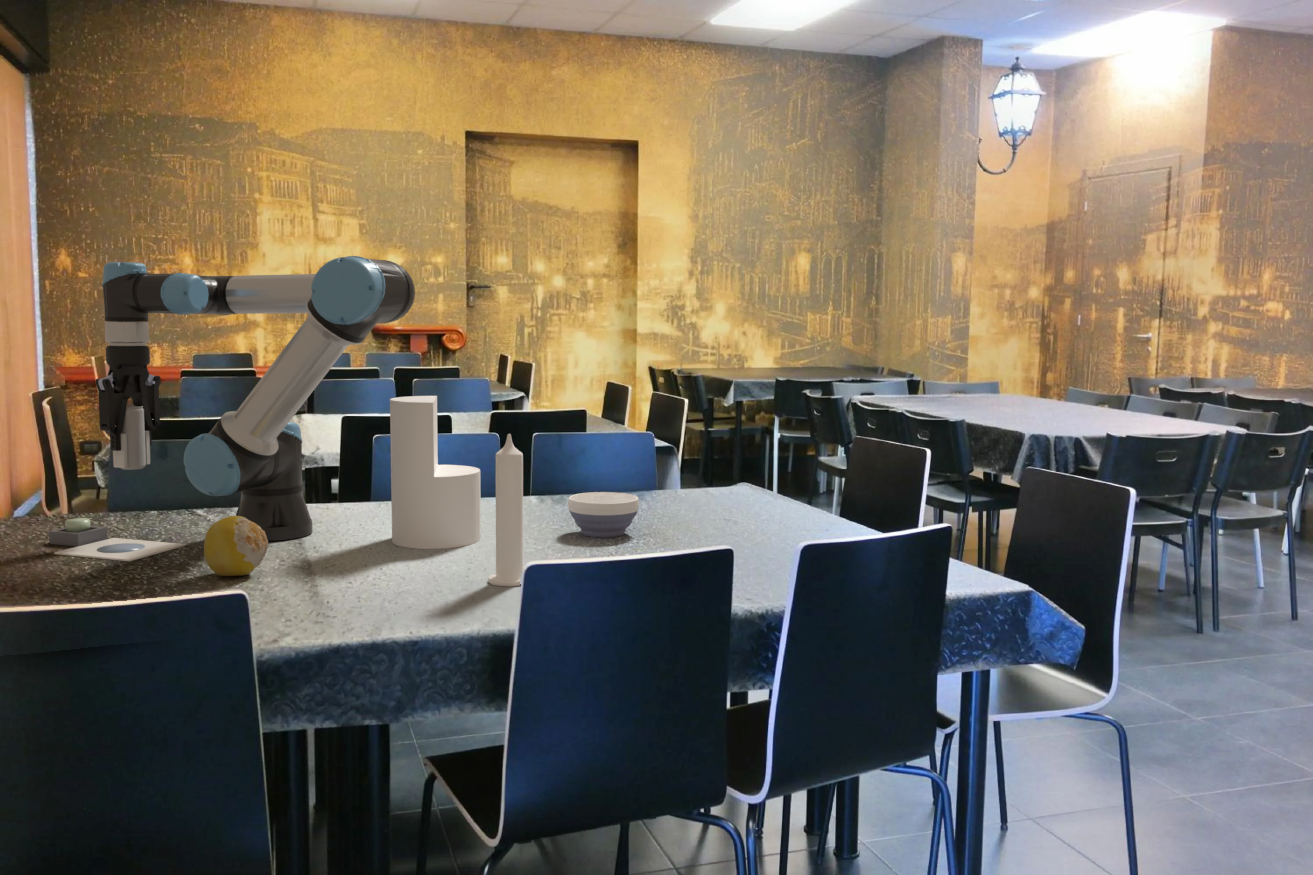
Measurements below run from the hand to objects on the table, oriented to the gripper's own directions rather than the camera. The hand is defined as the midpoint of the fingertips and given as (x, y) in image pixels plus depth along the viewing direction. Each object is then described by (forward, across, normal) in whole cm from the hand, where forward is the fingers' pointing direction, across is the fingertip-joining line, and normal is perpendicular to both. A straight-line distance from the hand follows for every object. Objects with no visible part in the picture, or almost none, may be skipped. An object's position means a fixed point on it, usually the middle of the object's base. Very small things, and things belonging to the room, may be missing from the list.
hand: (132, 465), depth 208 cm
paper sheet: (+15, +7, +4) cm, 17 cm away
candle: (+15, 0, +82) cm, 83 cm away
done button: (+13, +5, -9) cm, 16 cm away
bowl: (+15, -43, +80) cm, 92 cm away
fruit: (+15, +14, +38) cm, 43 cm away
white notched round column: (+15, -25, +52) cm, 60 cm away
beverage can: (+1, 0, 0) cm, 1 cm away
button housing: (+15, +5, -9) cm, 18 cm away
